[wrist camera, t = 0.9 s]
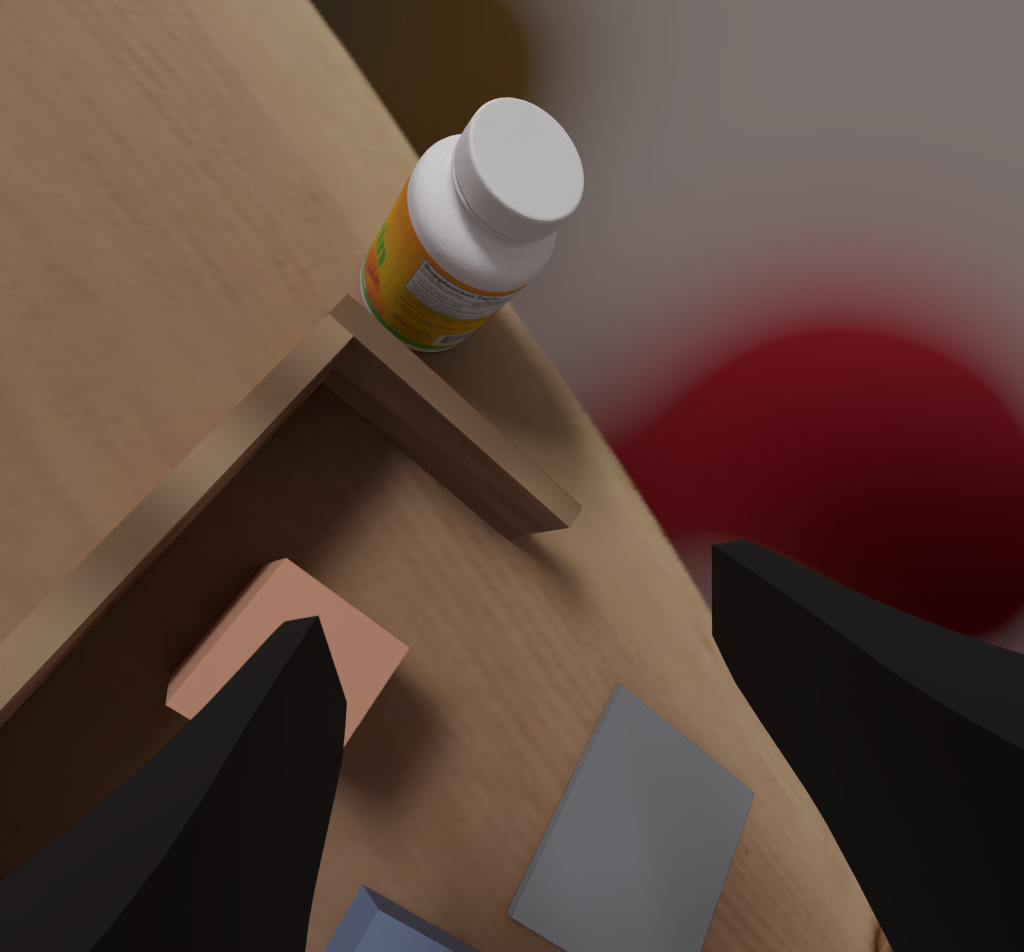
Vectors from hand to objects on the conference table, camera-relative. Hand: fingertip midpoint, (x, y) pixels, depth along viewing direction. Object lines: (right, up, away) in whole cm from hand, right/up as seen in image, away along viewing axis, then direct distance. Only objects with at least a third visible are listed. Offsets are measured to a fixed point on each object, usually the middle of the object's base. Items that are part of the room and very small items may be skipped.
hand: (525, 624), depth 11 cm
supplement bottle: (-4, +11, +15) cm, 19 cm away
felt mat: (+6, -14, +16) cm, 22 cm away
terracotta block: (-9, -4, +10) cm, 14 cm away
